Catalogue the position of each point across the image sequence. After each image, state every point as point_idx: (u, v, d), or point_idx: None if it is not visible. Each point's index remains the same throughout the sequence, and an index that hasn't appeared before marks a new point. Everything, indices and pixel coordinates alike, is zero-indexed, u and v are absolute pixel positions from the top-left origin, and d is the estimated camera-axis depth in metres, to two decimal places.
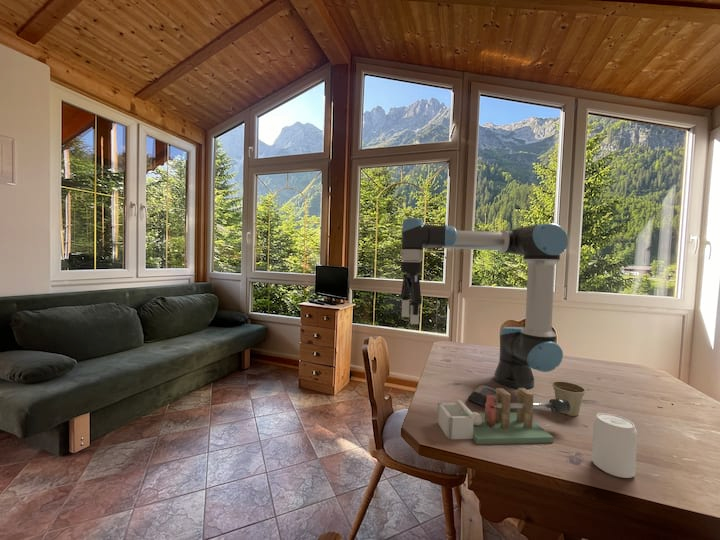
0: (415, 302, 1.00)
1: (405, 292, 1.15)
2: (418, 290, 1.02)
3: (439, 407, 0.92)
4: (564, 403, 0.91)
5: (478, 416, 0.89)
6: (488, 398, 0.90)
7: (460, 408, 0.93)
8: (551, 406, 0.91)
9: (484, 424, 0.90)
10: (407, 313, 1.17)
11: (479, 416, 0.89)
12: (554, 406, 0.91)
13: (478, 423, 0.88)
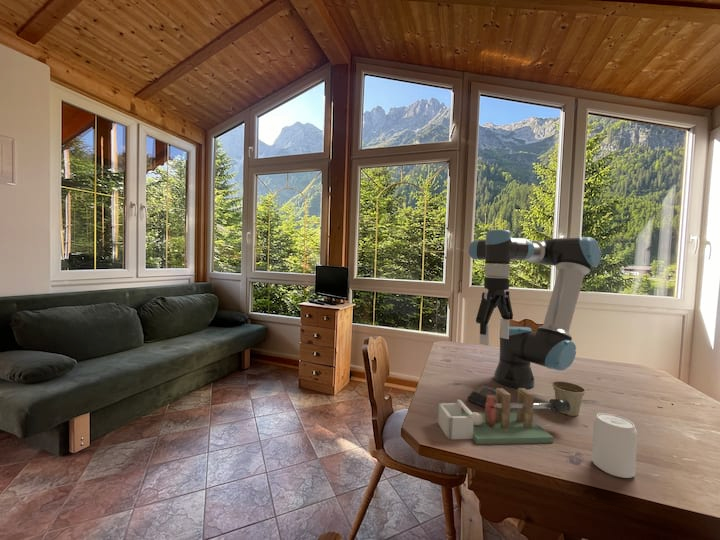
0: (477, 320, 0.95)
1: (500, 310, 1.04)
2: (484, 308, 0.95)
3: (439, 407, 0.92)
4: (564, 403, 0.91)
5: (478, 416, 0.89)
6: (488, 398, 0.90)
7: (460, 408, 0.93)
8: (551, 406, 0.91)
9: (484, 424, 0.90)
10: (506, 334, 1.04)
11: (479, 416, 0.89)
12: (554, 406, 0.91)
13: (478, 423, 0.88)
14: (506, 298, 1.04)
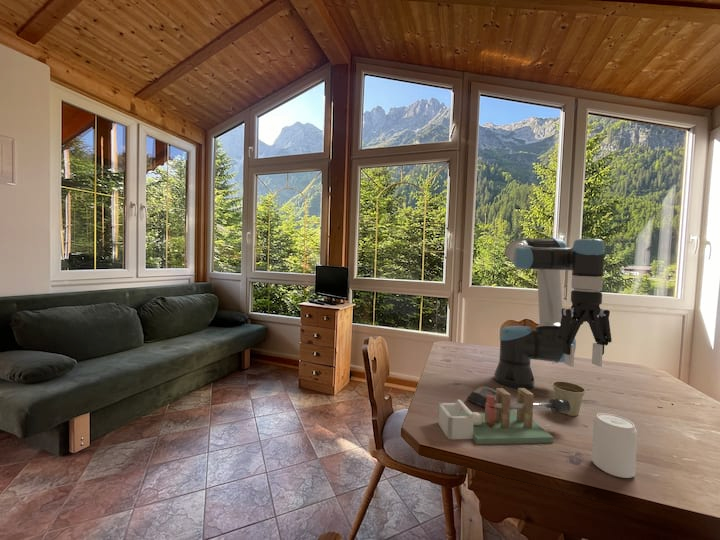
0: (558, 339, 0.92)
1: (592, 330, 0.93)
2: (564, 326, 0.91)
3: (439, 407, 0.92)
4: (564, 403, 0.91)
5: (478, 416, 0.89)
6: (488, 398, 0.90)
7: (460, 408, 0.93)
8: (551, 406, 0.91)
9: (484, 424, 0.90)
10: (597, 361, 0.92)
11: (479, 416, 0.89)
12: (554, 406, 0.91)
13: (478, 423, 0.88)
14: (603, 317, 0.92)
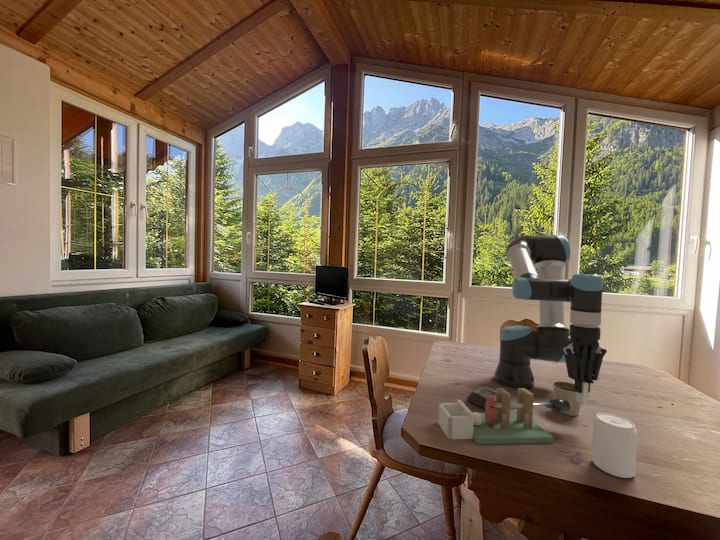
0: (570, 377, 0.93)
1: (583, 366, 0.93)
2: (570, 365, 0.91)
3: (439, 407, 0.92)
4: (564, 403, 0.91)
5: (478, 416, 0.89)
6: (488, 398, 0.90)
7: (460, 408, 0.93)
8: (551, 406, 0.91)
9: (484, 424, 0.90)
10: None
11: (479, 416, 0.89)
12: (554, 406, 0.91)
13: (478, 423, 0.88)
14: (598, 354, 0.92)
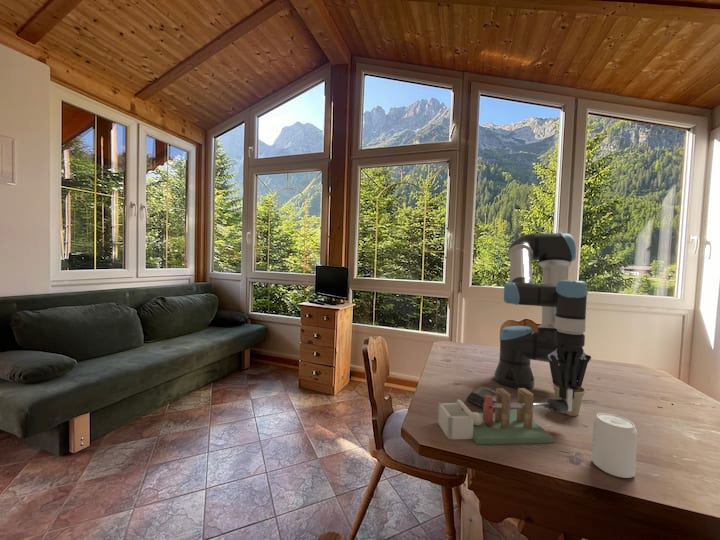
0: (554, 383, 0.92)
1: None
2: (554, 372, 0.91)
3: (439, 407, 0.92)
4: (562, 403, 0.91)
5: (478, 416, 0.89)
6: (486, 398, 0.90)
7: (460, 408, 0.93)
8: (549, 406, 0.91)
9: (484, 424, 0.90)
10: (568, 405, 0.91)
11: (479, 416, 0.89)
12: (552, 406, 0.91)
13: (478, 423, 0.88)
14: (583, 361, 0.92)
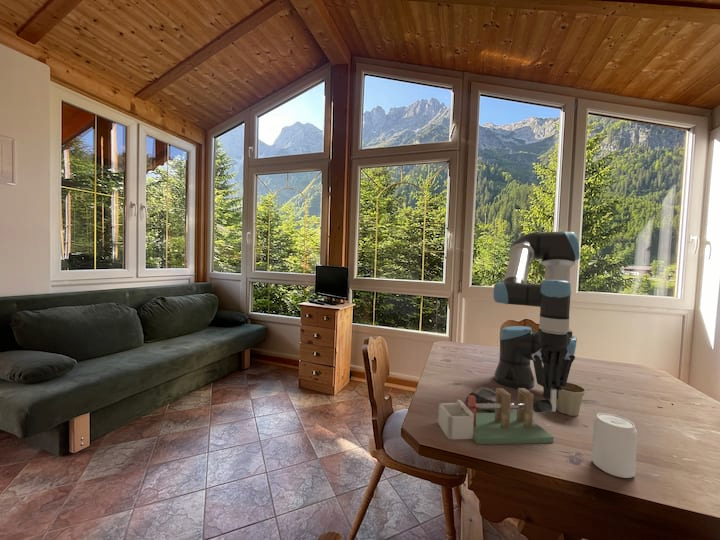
0: (538, 383, 0.92)
1: (552, 372, 0.92)
2: (538, 372, 0.91)
3: (439, 407, 0.92)
4: (546, 403, 0.90)
5: None
6: (469, 398, 0.89)
7: (460, 408, 0.93)
8: (533, 406, 0.90)
9: (484, 424, 0.90)
10: (552, 405, 0.91)
11: None
12: (536, 406, 0.91)
13: None
14: (567, 361, 0.91)
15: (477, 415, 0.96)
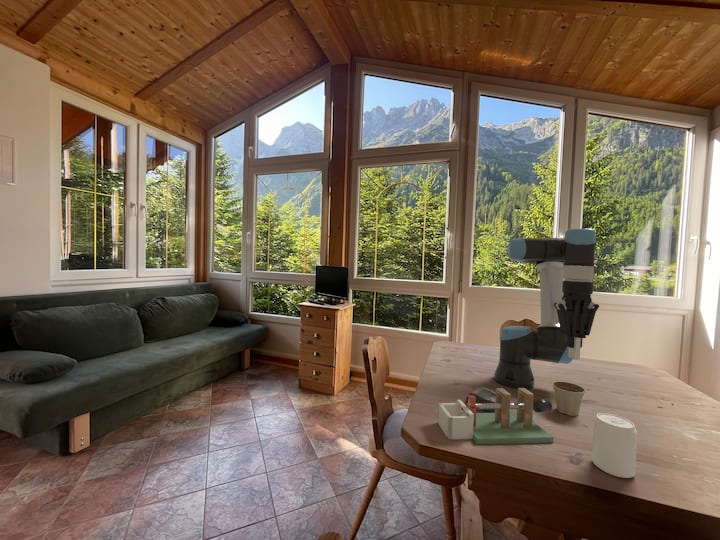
0: (562, 333, 0.92)
1: None
2: (562, 320, 0.91)
3: (439, 407, 0.92)
4: (546, 403, 0.90)
5: None
6: (469, 398, 0.89)
7: (460, 408, 0.93)
8: (533, 406, 0.90)
9: (484, 424, 0.90)
10: None
11: None
12: (536, 406, 0.91)
13: None
14: (591, 310, 0.91)
15: (477, 415, 0.96)
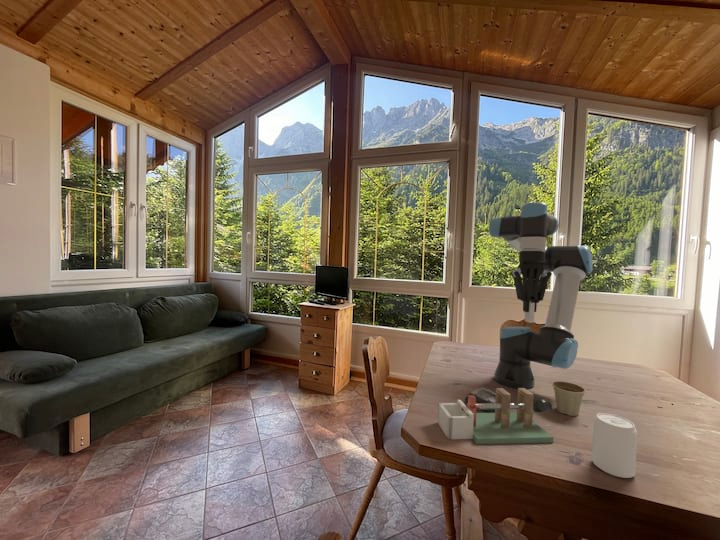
0: (518, 298, 1.01)
1: (531, 288, 1.02)
2: (518, 287, 1.00)
3: (439, 407, 0.92)
4: (546, 403, 0.90)
5: None
6: (469, 398, 0.89)
7: (460, 408, 0.93)
8: (533, 406, 0.90)
9: (484, 424, 0.90)
10: None
11: None
12: (536, 406, 0.91)
13: None
14: (544, 277, 1.00)
15: (477, 415, 0.96)
